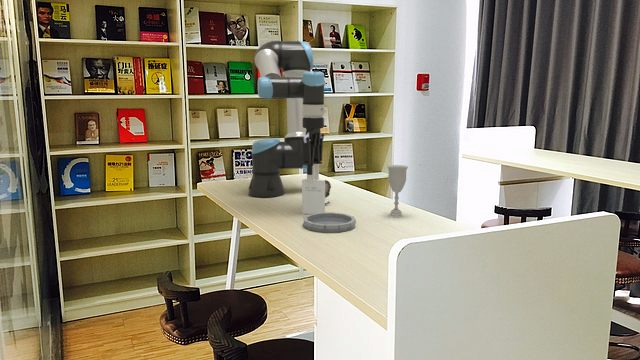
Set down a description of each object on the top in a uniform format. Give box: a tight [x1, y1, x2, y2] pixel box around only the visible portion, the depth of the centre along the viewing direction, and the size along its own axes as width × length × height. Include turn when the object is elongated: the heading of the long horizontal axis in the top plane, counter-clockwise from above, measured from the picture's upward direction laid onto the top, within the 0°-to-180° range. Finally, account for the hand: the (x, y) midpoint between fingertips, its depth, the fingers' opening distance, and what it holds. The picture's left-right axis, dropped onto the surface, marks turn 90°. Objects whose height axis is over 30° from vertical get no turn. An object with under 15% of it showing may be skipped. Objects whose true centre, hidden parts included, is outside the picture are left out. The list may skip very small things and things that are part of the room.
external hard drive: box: [301, 178, 326, 215], centre depth 191 cm, size 2×8×12 cm, turn 83°
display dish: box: [302, 212, 357, 234], centre depth 176 cm, size 17×17×2 cm
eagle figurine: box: [324, 179, 332, 205], centre depth 207 cm, size 8×7×9 cm
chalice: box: [387, 164, 409, 219], centre depth 187 cm, size 7×7×18 cm
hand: (312, 182), depth 190 cm, fingers open, 3 cm apart
